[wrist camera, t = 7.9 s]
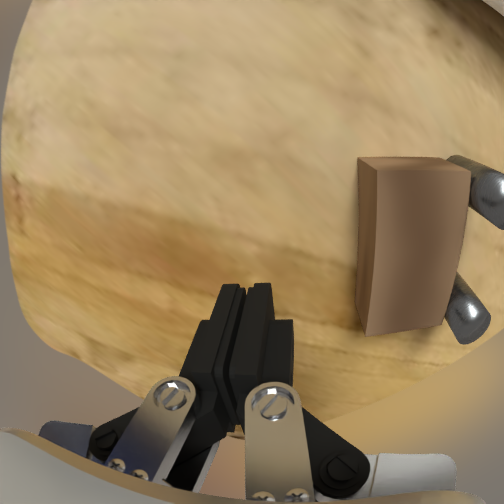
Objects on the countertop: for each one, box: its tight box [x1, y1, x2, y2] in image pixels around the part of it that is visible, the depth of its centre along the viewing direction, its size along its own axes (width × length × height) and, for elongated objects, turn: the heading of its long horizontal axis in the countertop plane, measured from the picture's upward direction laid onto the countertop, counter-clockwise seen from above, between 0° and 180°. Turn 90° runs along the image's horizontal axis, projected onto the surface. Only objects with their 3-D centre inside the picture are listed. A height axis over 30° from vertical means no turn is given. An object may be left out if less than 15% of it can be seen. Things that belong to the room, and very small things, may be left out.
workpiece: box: [355, 157, 471, 337], centre depth 14 cm, size 5×9×4 cm, turn 8°
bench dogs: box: [444, 155, 504, 344], centre depth 12 cm, size 2×9×5 cm, turn 7°
